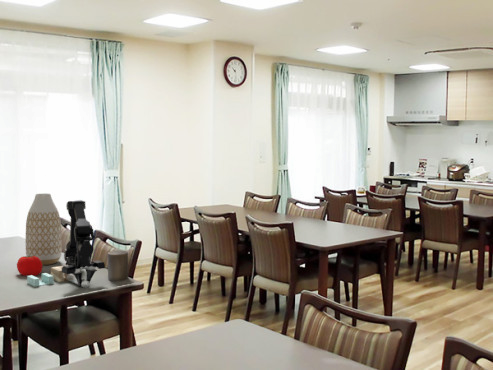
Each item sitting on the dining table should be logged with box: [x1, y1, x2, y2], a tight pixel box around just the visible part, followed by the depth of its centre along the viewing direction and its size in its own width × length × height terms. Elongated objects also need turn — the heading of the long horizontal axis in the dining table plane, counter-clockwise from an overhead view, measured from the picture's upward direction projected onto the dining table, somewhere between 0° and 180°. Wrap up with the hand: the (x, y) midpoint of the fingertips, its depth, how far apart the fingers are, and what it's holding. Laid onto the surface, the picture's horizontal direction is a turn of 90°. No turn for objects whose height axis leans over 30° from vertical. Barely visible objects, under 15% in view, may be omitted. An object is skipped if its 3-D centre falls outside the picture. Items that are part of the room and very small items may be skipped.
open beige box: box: [50, 265, 74, 283], centre depth 264 cm, size 9×9×6 cm
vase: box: [25, 193, 63, 266], centre depth 298 cm, size 19×19×38 cm
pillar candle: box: [107, 250, 129, 282], centre depth 265 cm, size 10×10×15 cm
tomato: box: [16, 255, 43, 277], centre depth 271 cm, size 11×13×10 cm
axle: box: [66, 274, 90, 289], centre depth 254 cm, size 16×3×3 cm, turn 44°
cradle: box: [26, 272, 55, 288], centre depth 255 cm, size 9×8×4 cm
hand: (83, 285), depth 250 cm, fingers closed on axle, 3 cm apart
